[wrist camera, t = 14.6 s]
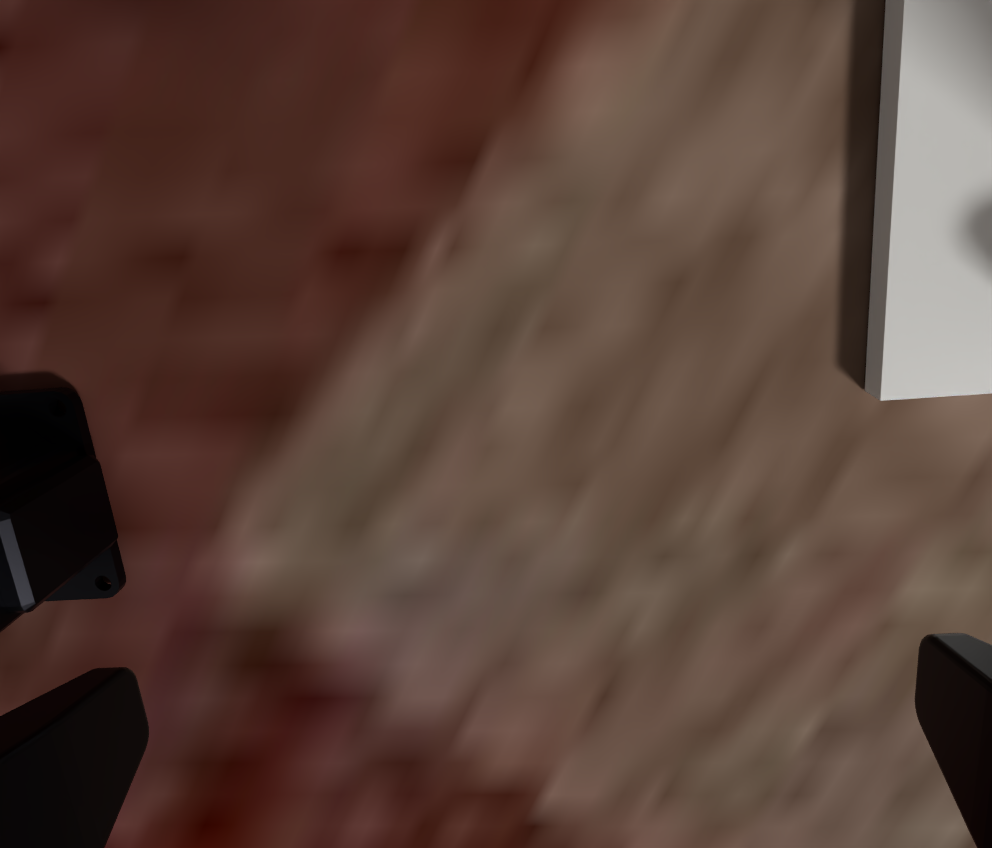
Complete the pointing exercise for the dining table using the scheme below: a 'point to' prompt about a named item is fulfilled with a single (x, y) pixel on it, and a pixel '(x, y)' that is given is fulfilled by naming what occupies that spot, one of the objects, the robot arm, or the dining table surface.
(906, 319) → the plate
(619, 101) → the dining table surface
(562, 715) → the dining table surface
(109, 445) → the dining table surface
